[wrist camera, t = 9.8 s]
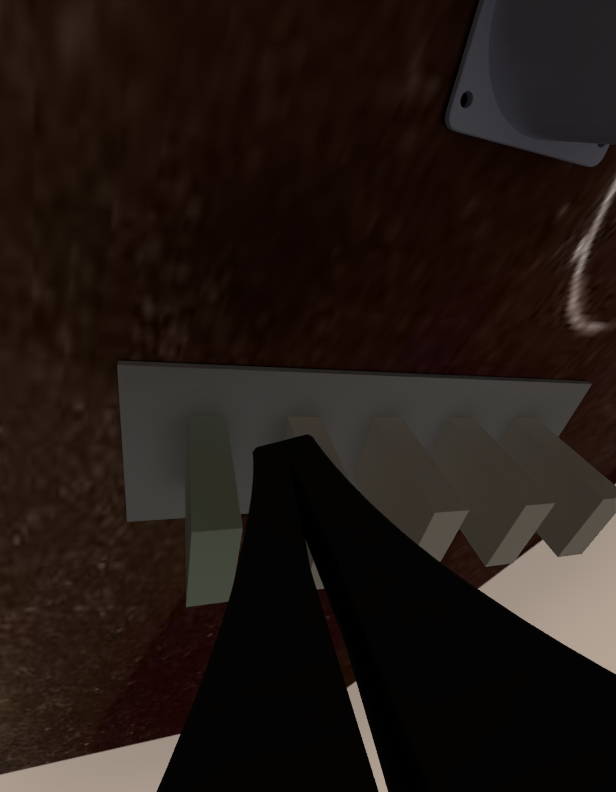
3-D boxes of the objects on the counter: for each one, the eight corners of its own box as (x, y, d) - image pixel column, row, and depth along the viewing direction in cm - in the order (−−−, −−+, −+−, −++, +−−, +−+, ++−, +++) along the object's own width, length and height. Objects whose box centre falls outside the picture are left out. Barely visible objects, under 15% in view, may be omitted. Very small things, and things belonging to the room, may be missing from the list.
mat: (118, 360, 18) (117, 365, 18) (586, 381, 27) (591, 384, 26) (127, 516, 23) (127, 521, 23) (517, 490, 32) (521, 494, 31)
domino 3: (353, 476, 25) (402, 577, 20) (373, 416, 23) (434, 512, 17) (379, 475, 26) (433, 573, 20) (401, 417, 24) (469, 510, 18)
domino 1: (185, 483, 22) (186, 606, 17) (188, 415, 20) (191, 532, 14) (218, 482, 23) (230, 601, 17) (226, 416, 20) (242, 528, 15)
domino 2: (275, 480, 24) (304, 591, 18) (287, 416, 21) (325, 521, 16) (304, 478, 24) (341, 586, 19) (319, 416, 22) (367, 518, 16)
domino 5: (483, 470, 28) (557, 556, 23) (513, 417, 26) (603, 499, 20) (504, 469, 29) (581, 553, 23) (534, 417, 27) (629, 497, 21)
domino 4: (422, 473, 27) (485, 566, 21) (447, 417, 25) (526, 505, 19) (445, 472, 27) (512, 562, 22) (472, 417, 25) (555, 503, 20)
